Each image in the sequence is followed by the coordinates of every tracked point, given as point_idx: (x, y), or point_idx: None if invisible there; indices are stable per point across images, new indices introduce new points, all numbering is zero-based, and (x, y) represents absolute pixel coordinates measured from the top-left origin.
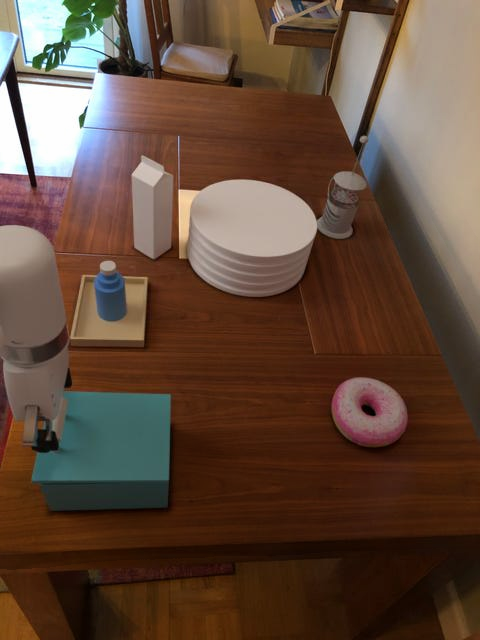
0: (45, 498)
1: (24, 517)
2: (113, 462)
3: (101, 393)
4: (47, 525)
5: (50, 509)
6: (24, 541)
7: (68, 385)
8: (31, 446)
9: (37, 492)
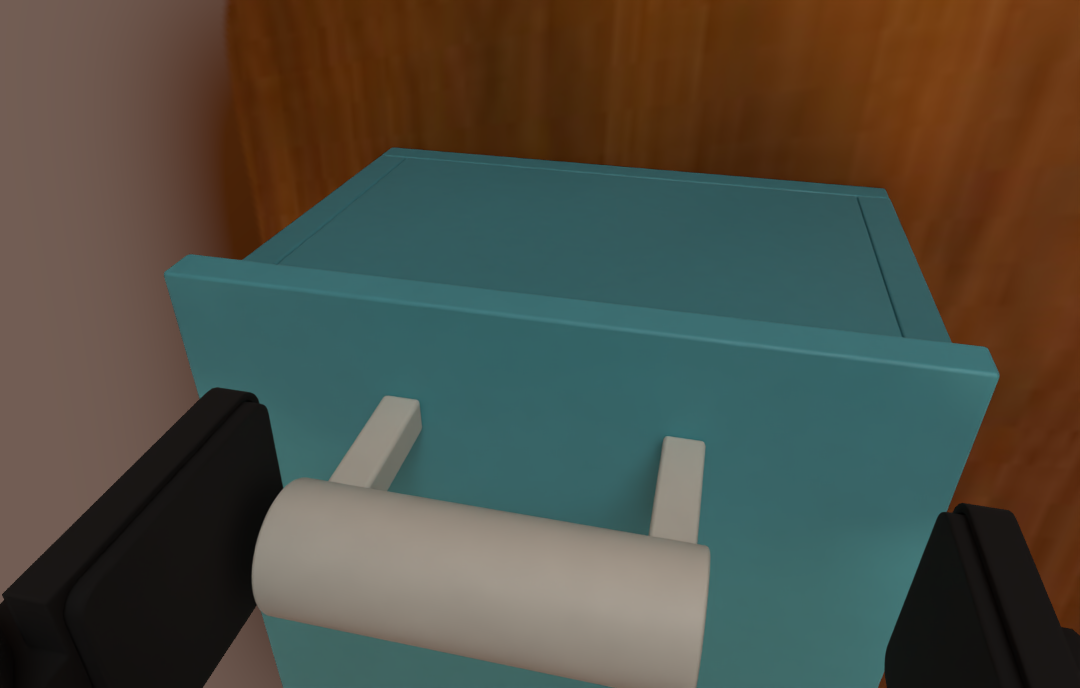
0: (321, 201)
1: (354, 20)
2: (361, 655)
3: (868, 678)
4: (328, 139)
5: (384, 154)
6: (250, 41)
7: (893, 685)
8: (173, 428)
9: (481, 69)
